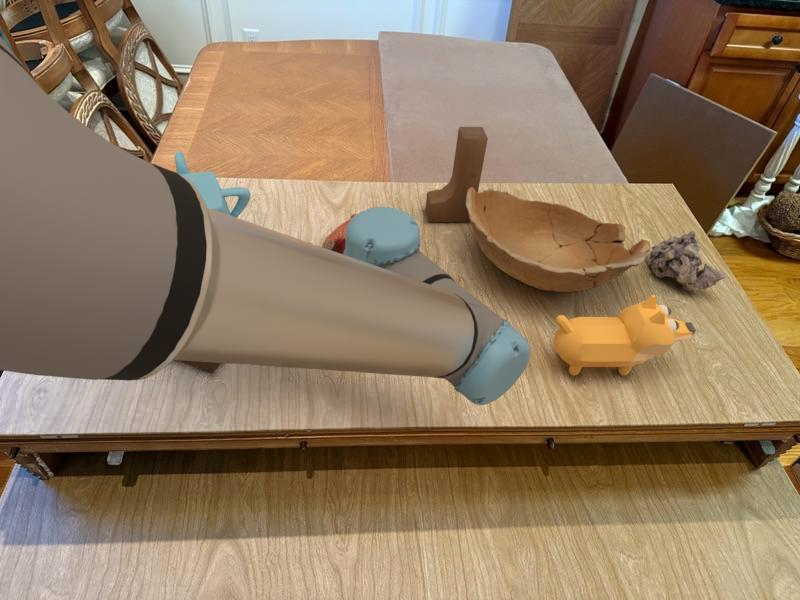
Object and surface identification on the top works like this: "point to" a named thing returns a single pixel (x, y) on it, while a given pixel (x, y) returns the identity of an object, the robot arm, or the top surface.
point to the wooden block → (459, 178)
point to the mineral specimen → (683, 263)
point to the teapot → (213, 189)
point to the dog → (619, 337)
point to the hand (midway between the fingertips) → (149, 255)
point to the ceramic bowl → (549, 242)
